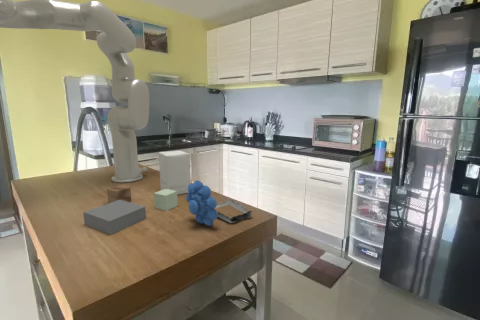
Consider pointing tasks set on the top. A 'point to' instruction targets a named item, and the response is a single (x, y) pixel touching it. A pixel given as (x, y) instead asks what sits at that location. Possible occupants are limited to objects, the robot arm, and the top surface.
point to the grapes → (201, 203)
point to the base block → (114, 216)
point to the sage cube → (165, 199)
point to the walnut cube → (119, 193)
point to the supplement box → (174, 171)
